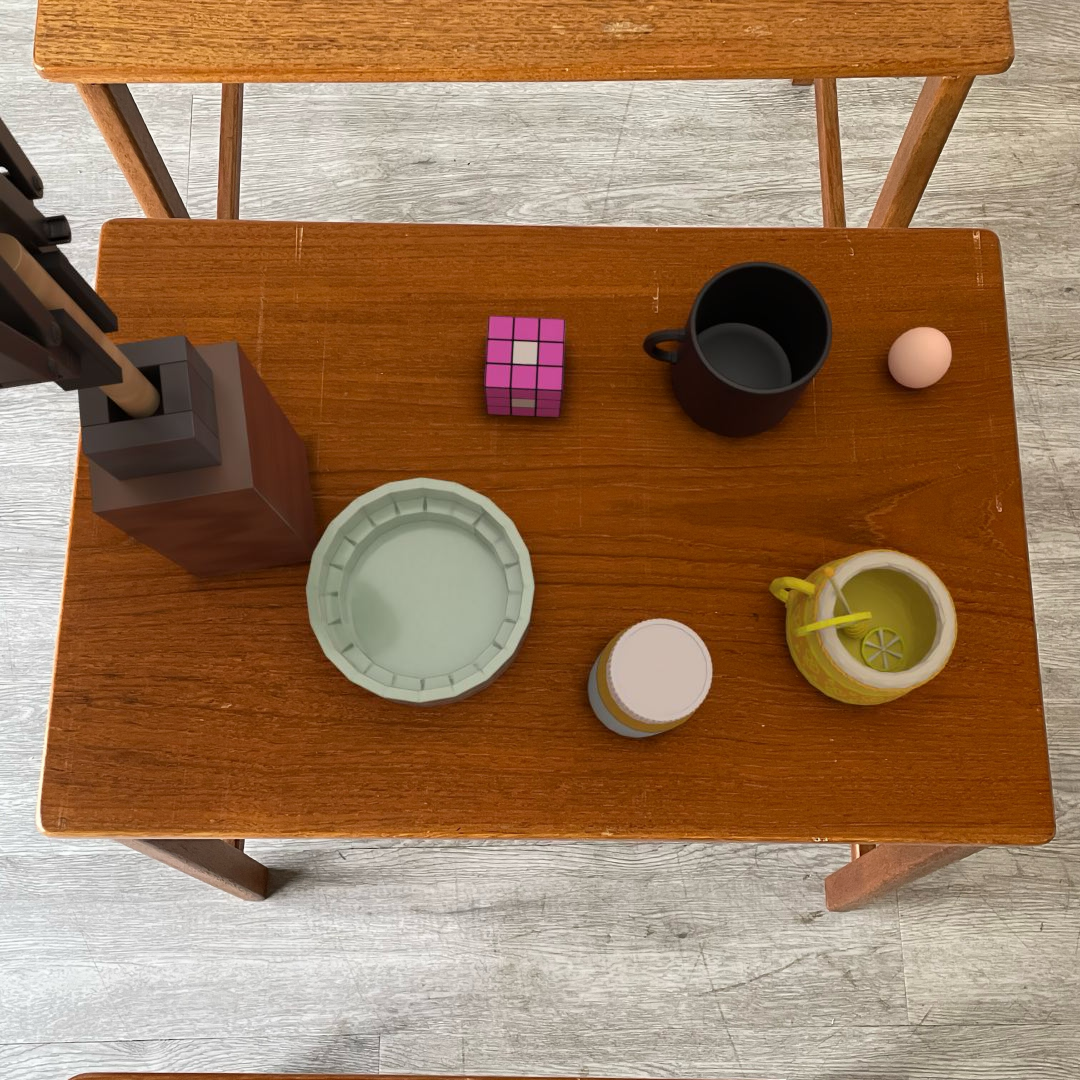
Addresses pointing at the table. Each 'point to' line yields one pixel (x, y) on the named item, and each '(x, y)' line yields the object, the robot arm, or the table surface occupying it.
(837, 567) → the mug
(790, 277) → the mug
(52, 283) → the stirring stick
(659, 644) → the bottle
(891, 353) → the egg
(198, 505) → the utensil stand
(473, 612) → the bowl
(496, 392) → the puzzle toy
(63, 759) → the table surface
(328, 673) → the table surface
